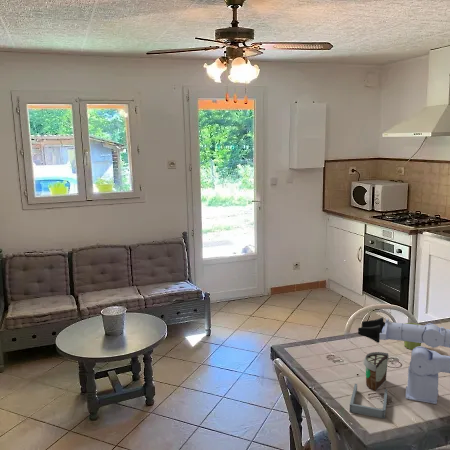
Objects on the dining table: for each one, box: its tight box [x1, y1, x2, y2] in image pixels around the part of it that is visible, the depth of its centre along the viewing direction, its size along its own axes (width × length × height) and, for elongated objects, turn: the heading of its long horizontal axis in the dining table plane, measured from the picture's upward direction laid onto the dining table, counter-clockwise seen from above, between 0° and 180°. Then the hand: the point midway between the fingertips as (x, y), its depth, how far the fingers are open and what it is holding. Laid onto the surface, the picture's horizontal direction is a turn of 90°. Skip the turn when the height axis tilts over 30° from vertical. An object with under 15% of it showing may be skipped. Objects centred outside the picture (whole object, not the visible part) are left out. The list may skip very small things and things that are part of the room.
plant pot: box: [403, 322, 422, 350], centre depth 190 cm, size 9×9×9 cm
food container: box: [363, 351, 389, 392], centre depth 162 cm, size 12×6×10 cm, turn 141°
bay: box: [349, 383, 388, 419], centre depth 150 cm, size 11×14×2 cm
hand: (360, 327), depth 160 cm, fingers open, 7 cm apart
